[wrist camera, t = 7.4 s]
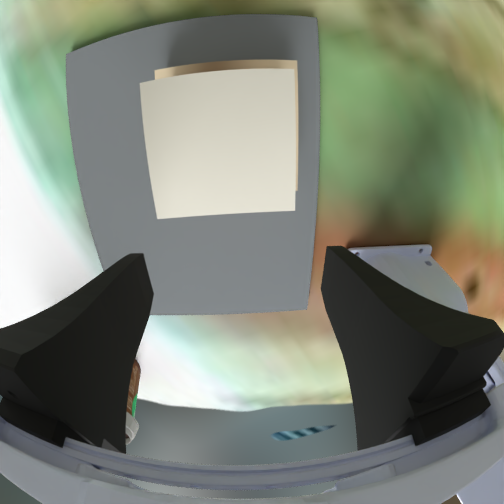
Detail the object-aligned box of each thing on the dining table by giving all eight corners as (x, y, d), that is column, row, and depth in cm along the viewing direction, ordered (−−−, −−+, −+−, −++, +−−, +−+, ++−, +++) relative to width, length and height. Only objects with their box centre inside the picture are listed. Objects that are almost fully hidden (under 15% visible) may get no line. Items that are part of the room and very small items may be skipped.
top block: (274, 82, 11) (294, 69, 7) (276, 173, 13) (295, 210, 9) (176, 90, 11) (139, 82, 6) (184, 179, 13) (157, 219, 9)
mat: (314, 20, 13) (317, 17, 12) (305, 303, 25) (306, 309, 25) (71, 55, 13) (65, 54, 12) (122, 308, 25) (120, 314, 24)
